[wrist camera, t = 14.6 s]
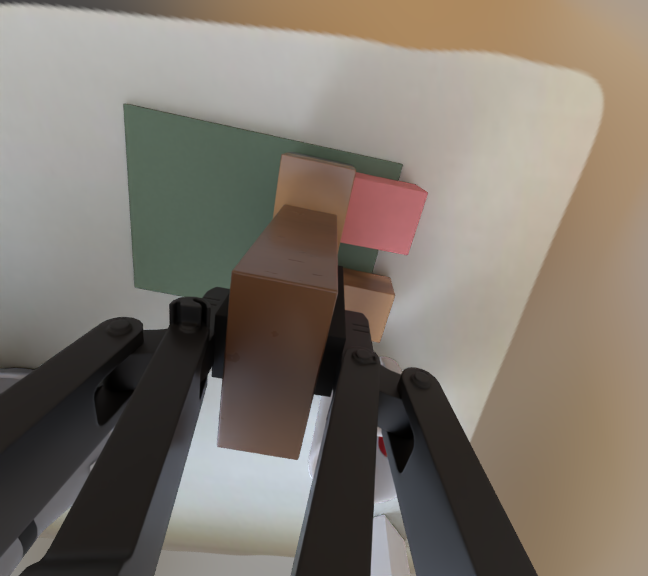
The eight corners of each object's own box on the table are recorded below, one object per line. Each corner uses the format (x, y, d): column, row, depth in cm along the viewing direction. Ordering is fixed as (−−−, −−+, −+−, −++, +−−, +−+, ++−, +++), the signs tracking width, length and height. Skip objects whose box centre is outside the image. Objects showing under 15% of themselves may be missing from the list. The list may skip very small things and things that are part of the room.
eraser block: (337, 229, 23) (338, 242, 21) (350, 170, 22) (353, 176, 19) (399, 241, 24) (408, 255, 21) (416, 184, 22) (428, 192, 19)
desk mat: (137, 285, 26) (134, 287, 26) (126, 103, 21) (122, 103, 20) (355, 327, 27) (355, 329, 27) (402, 163, 22) (403, 164, 21)
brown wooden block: (290, 151, 20) (218, 171, 8) (353, 164, 21) (380, 205, 8) (267, 315, 25) (199, 489, 13) (317, 325, 26) (300, 505, 13)
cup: (340, 318, 27) (340, 386, 20) (429, 343, 28) (461, 418, 20) (304, 409, 32) (295, 492, 24) (382, 429, 32) (395, 515, 25)
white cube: (338, 526, 40) (338, 589, 34) (384, 513, 38) (391, 577, 33) (361, 551, 42) (364, 614, 36) (404, 540, 40) (415, 603, 35)
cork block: (322, 310, 26) (318, 331, 24) (331, 264, 25) (329, 281, 22) (376, 321, 26) (379, 343, 24) (390, 277, 25) (395, 295, 22)
